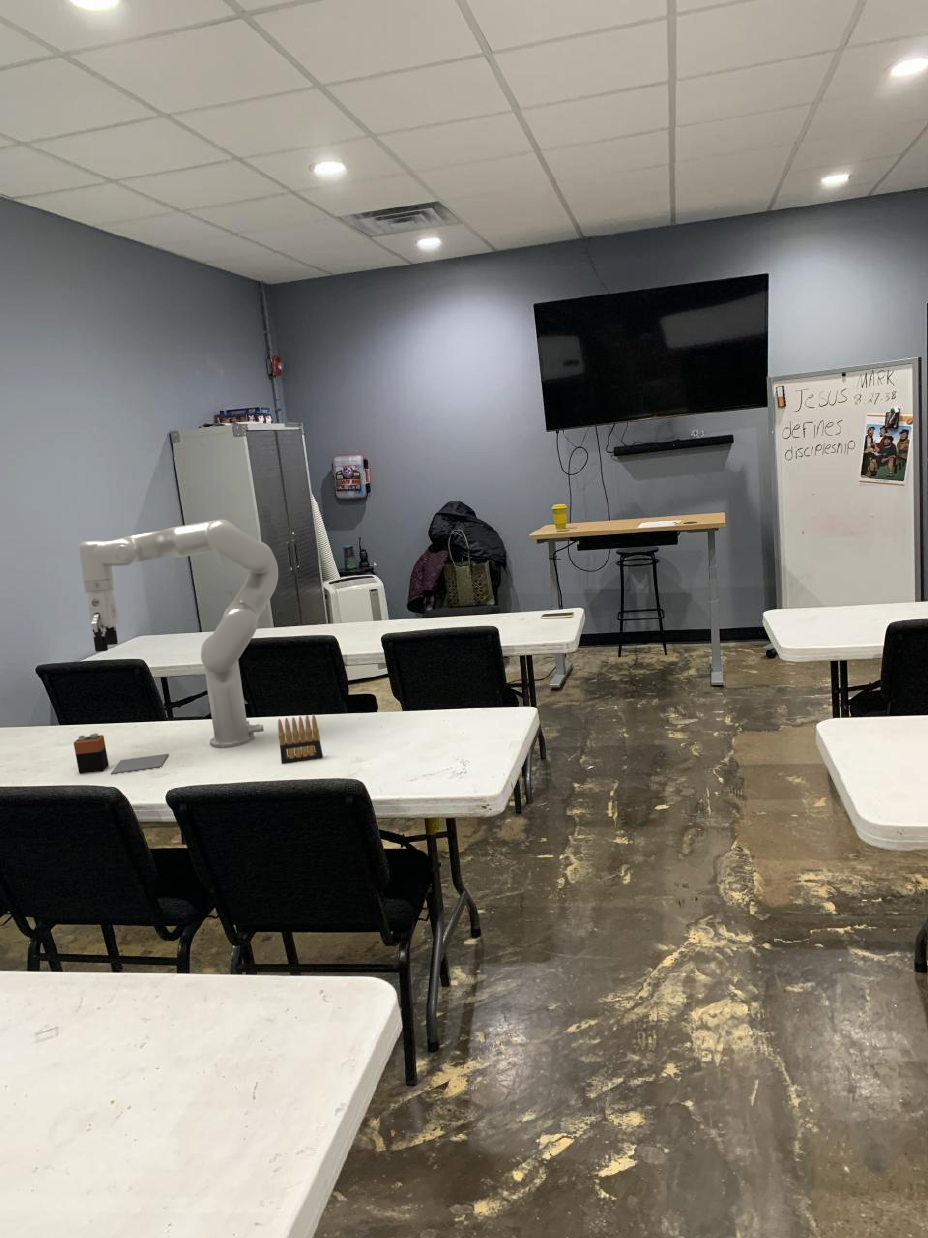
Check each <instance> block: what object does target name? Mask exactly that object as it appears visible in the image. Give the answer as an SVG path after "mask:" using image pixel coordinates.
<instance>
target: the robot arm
mask: <svg viewBox="0 0 928 1238" xmlns="http://www.w3.org/2000/svg"><path fill="white" fill-rule="evenodd" d="M78 549H79V550H78V551H79V560H80V566H81V573H82V582H83V590H84V593H85V594H87V599H88V600H87V603H88V612H89V613H88V614H89V621H90V626H91V628H92V629H91V631H92V636H93V644H94V650H95V652H107V651H108V650H109V646H111V645H114V646H115V645H118V643H119V642H118V641H119V640H118V634H117V633H118V632H117V626H116V625H118V623H119V615H118V610H117V609H118V608H117V603H116V599H115V593H114V591H115V585H114V582H115V581H114V577H113V568H112V567H114V566H115V567H127V566H128V567H129V566H131V565H133V564H134V563H138V562H144V561H148V560H149V561H150V560H153V559H154V560H155V559H162V558H172V559H173V558H175V559H177V558H178V559H179V558H186V557H190V556H195V555H201V554H207V553H213V552H217V553H218V554H220V555H221V556H223V557H224V558H226V559H228V560H229V561H231V562H233V563H235V564H236V565H238V566H239V567H242V568H243V569H245V570H246V571H247V577H246V579H245V581H244V583H242V586H241V588H240V590H239V591H238V593H236V596H235V597H234V599H233V600H232V601H231V603H230V605H229V606H228V607H227V608H226V609H225V610H224V612H223V616H222V618H221V620H220V622H219V624H218V625H217V627H216V628H215V629H214V632H213V633H212V634H210V635H209V636H207V638H206V639H205V640H204V641H203V643H202V646H201V651H200V659H201V663H202V666H203V668H204V669H203V670H204V676H205V682H206V689H207V695H208V702H209V709H210V715H211V720H212V721H211V722H212V729H213V734H214V735H213V737H212V738H210V740H209V745H210V746H211V747H214V748H230V747H231V748H232V747H235V746H241V745H244V744H247V743H249V742H251V741H253V740H254V739H255V733H264V731H265V730H264V728H265V727H264V725H263V724H260V723H258V724H250V721H249V720H247V714H246V706H245V701H244V700H245V699H244V694H243V687H242V686H243V685H242V679H241V673H240V671H241V670H240V664H239V659H240V658H241V656H242V654H243V653H244V651H245V649H246V648H247V647H248V645H249V643H250V641H251V640H252V638H254V635H255V633H256V631H257V629H258V625H259V618H260V616H261V614H262V613H263V611H264V610H265V609H266V606H267V604H268V603H269V601H270V600H271V598H272V596H273V594H274V592H275V591H276V587H277V584H278V580H279V566H278V562H277V560H276V556H275V555H274V553H273V551H272V549H271V548H270V546H269V545H268V544H266V543H265V542H263V541H259V540H257V539H255V538H254V537H252V536H251V535H249V534H247V533H246V532H244V531H243V530H241V529H239V528H238V527H236V526H235V525H234V524H233V523H232V522H230V521H229V520H227V519H215V520H208V521H203V522H197V523H191V524H185V525H180V526H179V525H177V526H174V527H168V528H166V529H162V530H158V531H151V532H146V533H141V534H139V533H138V534H135V535H134V534H133V535H129V536H124V537H123V536H122V537H120V538H119V537H118V539H112V540H108V541H106V540H104V539H103V540H100V539H99V540H98V539H97V540H86V541H82V542H80V543H79V546H78Z"/></svg>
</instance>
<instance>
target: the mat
mask: <svg viewBox="0 0 928 1238" xmlns="http://www.w3.org/2000/svg"><path fill="white" fill-rule="evenodd" d="M169 754H170V753H169V752H168V753H162V754H156V755H149V756H142V757H141V756H139V757H133V758H126V759H120V760H119V762H118V763H117V764H116V765H115V766H114V768H113V769H112V770H111V772H110V775H111V776H112V775H113V774H114V775H119V774H118V773H121V774H125V773H124V772H128V773H133V772H132V771H135V772H140V771H139V770H142V771H147V770H146V769H150V770H154V769H153V768H157V769H161V768H163V766H164V764H165V762H166V761H167V759H168V757H169ZM160 767H161V768H160Z"/></svg>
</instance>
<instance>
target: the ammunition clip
mask: <svg viewBox="0 0 928 1238" xmlns="http://www.w3.org/2000/svg"><path fill="white" fill-rule="evenodd" d="M277 721H278V722H277V728H278V729H277V730H278V743H279V750H280V761H281V765H285V764H287V765H288V764H293V763H300V762H301V763H302V762H309V761H314V760H323V758H324V756H323V751H322V744H321V738H320V737H321V736H320V731H319V730H320V729H319V728H318V721H317V717H316V716H315V714H314V713H313V714H312V717H311V721H310V718H309V716H308V715H307V714H306V715H305V722H303V718H302V716H300V715H299V717H298V725H297V721H296V718H295V717H294V716H293V717H292V719H291V724H290V721H289V719H288V718H287V717H285V719H284V726H283V722H282V720H281V719H280V718H278V720H277ZM304 723H305V725H304ZM311 723H312V725H311ZM290 725H291V726H290ZM311 726H312V727H311ZM284 727H285V728H284ZM284 729H285V731H284Z"/></svg>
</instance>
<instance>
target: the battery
mask: <svg viewBox="0 0 928 1238" xmlns="http://www.w3.org/2000/svg"><path fill="white" fill-rule="evenodd" d="M73 747H74V748H73V749H74V753H75V757H76V763H77V769H78V773H79V774H81V775H82V774H83V775H84V774H89V773H90V774H91V773H99V772H100V773H101V772H104V771H105V770H106V769H108V767H109V766H110V764H109V760H108V753H107V747H106V742H105V736H104V735H102V734H101V735H100V734H99V733H96V732H95V733H92V734H90V735H89V736H85V735H79V736H78V739H76V740H75V741H73Z"/></svg>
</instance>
